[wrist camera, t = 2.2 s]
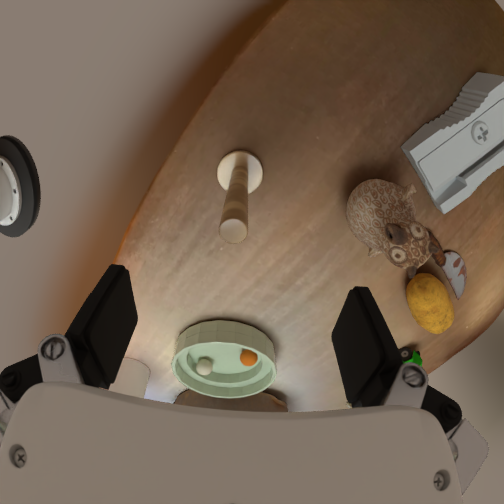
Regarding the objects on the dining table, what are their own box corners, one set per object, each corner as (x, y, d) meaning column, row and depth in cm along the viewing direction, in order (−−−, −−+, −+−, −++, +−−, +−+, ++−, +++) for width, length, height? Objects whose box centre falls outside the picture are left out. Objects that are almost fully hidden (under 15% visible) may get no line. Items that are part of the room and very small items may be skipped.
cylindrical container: (112, 360, 48) (79, 463, 27) (134, 355, 47) (102, 469, 25) (134, 379, 52) (109, 477, 30) (156, 375, 50) (134, 482, 29)
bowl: (180, 372, 49) (177, 392, 45) (172, 312, 40) (165, 335, 36) (266, 379, 50) (267, 400, 46) (282, 321, 42) (285, 346, 37)
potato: (417, 321, 43) (432, 348, 37) (389, 281, 38) (407, 312, 32) (446, 298, 41) (463, 323, 35) (423, 252, 35) (447, 280, 29)
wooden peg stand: (216, 190, 31) (193, 262, 18) (219, 148, 28) (193, 189, 15) (259, 194, 31) (267, 268, 18) (265, 152, 28) (279, 197, 16)
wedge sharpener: (503, 131, 24) (533, 143, 18) (434, 207, 31) (463, 229, 26) (477, 72, 20) (510, 75, 14) (399, 147, 28) (431, 161, 22)
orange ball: (239, 355, 45) (238, 369, 42) (240, 344, 44) (240, 359, 41) (256, 356, 45) (256, 370, 43) (258, 346, 44) (259, 360, 41)
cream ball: (197, 364, 47) (195, 377, 44) (196, 354, 45) (194, 368, 43) (213, 365, 47) (212, 379, 44) (213, 356, 45) (212, 370, 43)
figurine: (358, 147, 28) (434, 188, 15) (411, 188, 30) (485, 245, 17) (319, 209, 32) (361, 286, 19) (374, 242, 34) (426, 318, 22)
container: (287, 378, 50) (292, 446, 37) (288, 423, 64) (290, 470, 52) (157, 378, 52) (142, 439, 39) (192, 424, 66) (186, 468, 54)
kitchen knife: (474, 285, 39) (458, 304, 40) (469, 281, 40) (453, 299, 42) (446, 216, 31) (425, 241, 32) (439, 212, 32) (419, 236, 33)
